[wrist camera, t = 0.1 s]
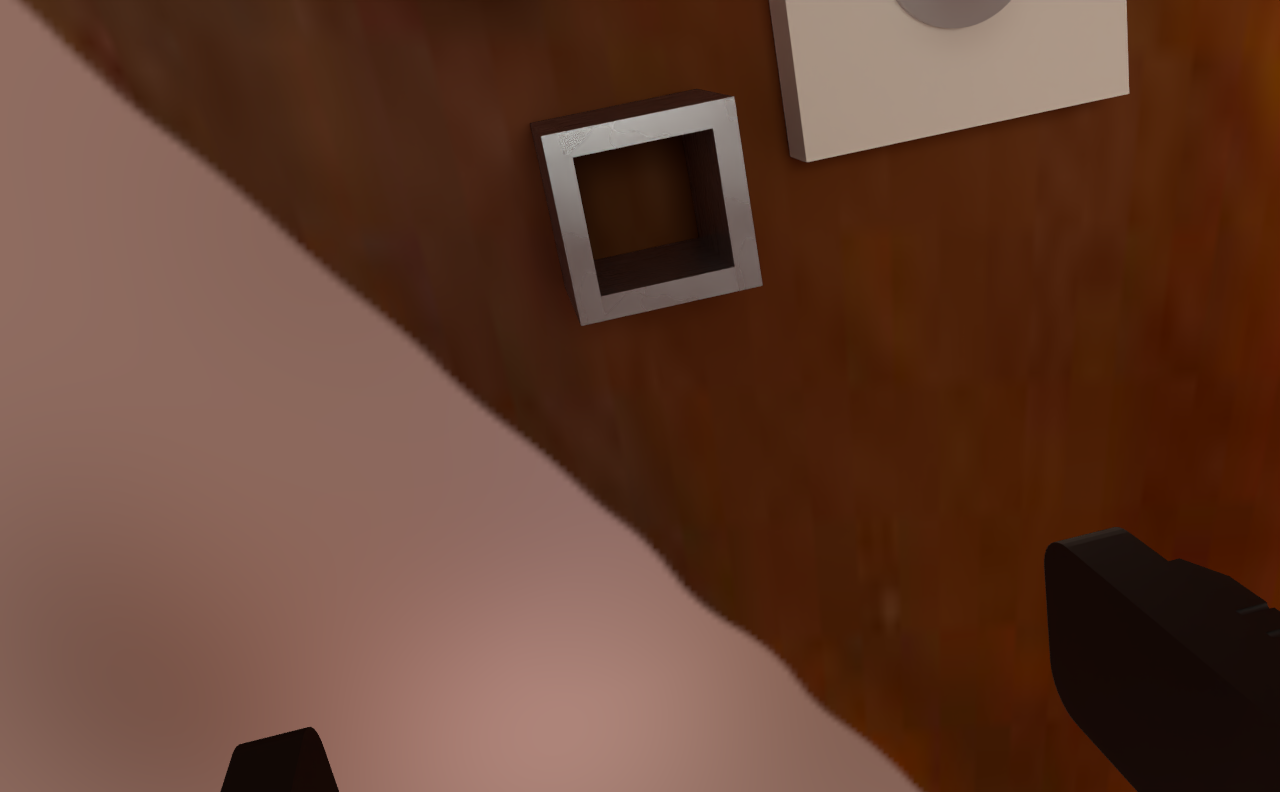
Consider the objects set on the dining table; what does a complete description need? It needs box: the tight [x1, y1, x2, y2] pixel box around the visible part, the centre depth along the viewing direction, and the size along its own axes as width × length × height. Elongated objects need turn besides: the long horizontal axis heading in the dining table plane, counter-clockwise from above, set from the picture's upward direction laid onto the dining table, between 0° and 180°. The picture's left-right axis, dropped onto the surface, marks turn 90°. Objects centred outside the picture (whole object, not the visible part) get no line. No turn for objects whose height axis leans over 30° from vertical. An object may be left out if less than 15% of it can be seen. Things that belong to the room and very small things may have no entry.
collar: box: [530, 89, 763, 326], centre depth 36 cm, size 6×6×6 cm
